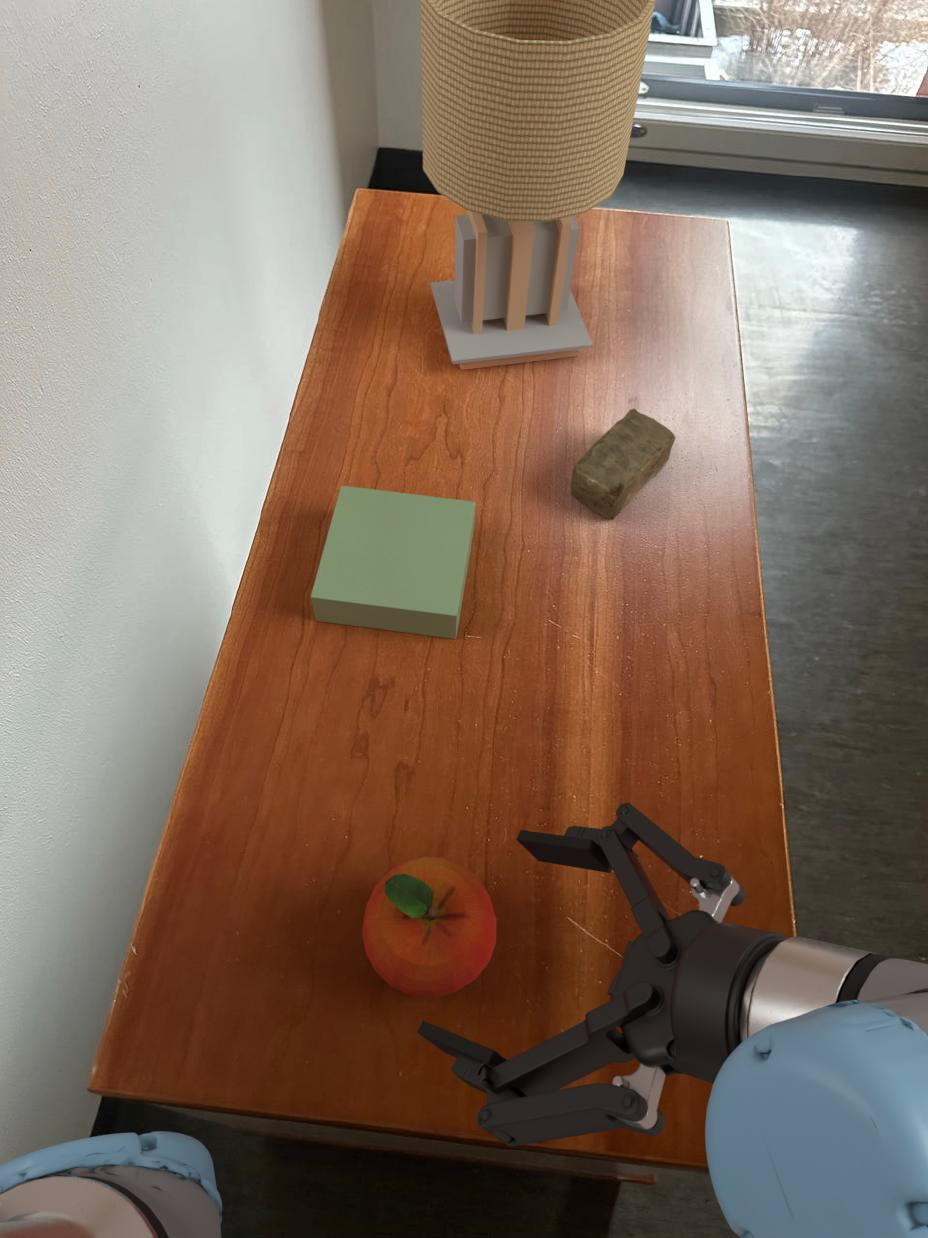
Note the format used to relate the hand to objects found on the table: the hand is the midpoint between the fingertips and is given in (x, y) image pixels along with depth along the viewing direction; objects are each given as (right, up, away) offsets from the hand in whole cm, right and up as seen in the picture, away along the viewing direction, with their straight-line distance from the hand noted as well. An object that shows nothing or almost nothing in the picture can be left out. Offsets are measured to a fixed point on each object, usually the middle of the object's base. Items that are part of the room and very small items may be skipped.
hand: (483, 935), depth 58 cm
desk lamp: (+4, +54, +45) cm, 71 cm away
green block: (-8, +25, +27) cm, 37 cm away
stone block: (+15, +35, +34) cm, 51 cm away
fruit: (-4, -4, +9) cm, 10 cm away
